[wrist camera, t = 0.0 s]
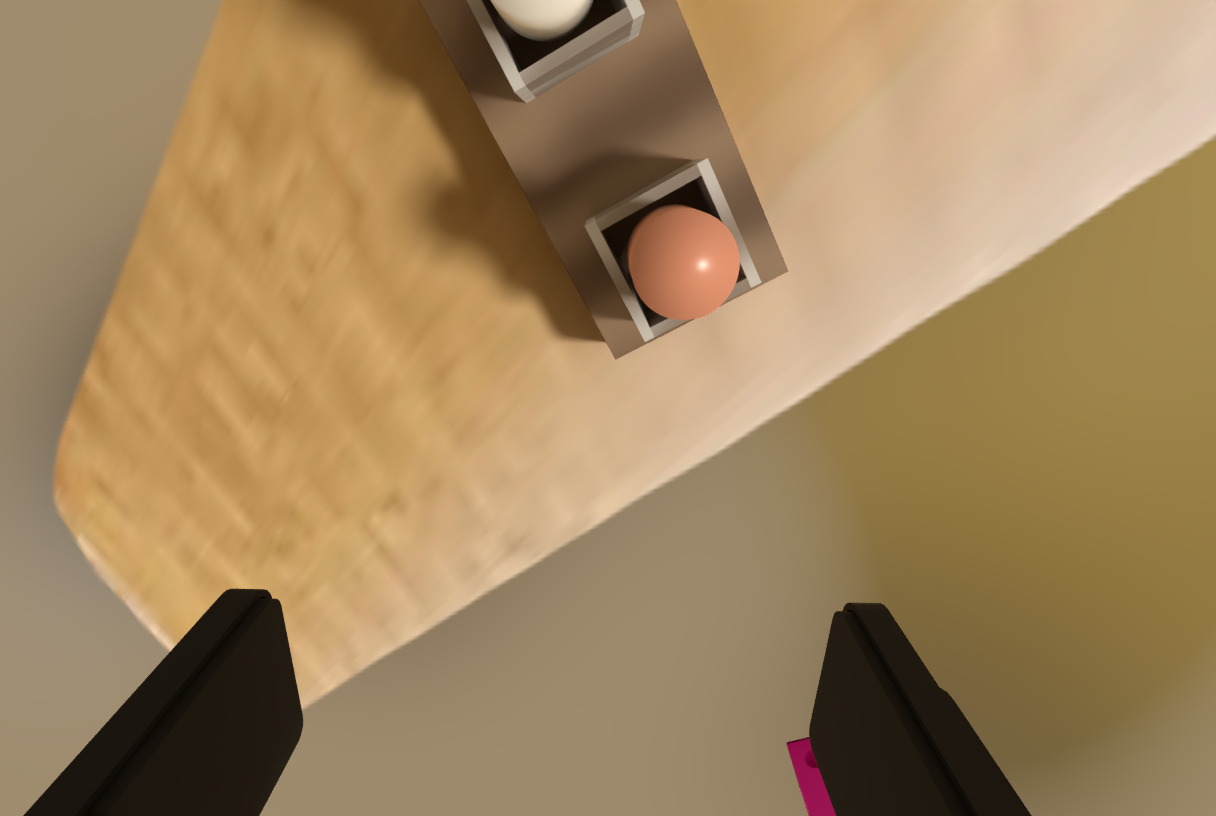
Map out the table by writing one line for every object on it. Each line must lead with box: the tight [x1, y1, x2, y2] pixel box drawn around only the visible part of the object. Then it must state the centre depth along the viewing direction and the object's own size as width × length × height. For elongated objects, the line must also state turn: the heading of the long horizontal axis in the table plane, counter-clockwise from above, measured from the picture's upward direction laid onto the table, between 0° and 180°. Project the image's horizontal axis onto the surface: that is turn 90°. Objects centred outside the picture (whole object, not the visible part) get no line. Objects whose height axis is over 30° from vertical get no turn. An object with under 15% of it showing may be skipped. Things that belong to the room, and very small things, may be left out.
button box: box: [419, 0, 788, 359], centre depth 34 cm, size 24×12×9 cm, turn 28°
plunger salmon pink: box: [627, 204, 740, 320], centre depth 30 cm, size 5×5×5 cm
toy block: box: [787, 737, 836, 816], centre depth 54 cm, size 15×6×8 cm, turn 108°
